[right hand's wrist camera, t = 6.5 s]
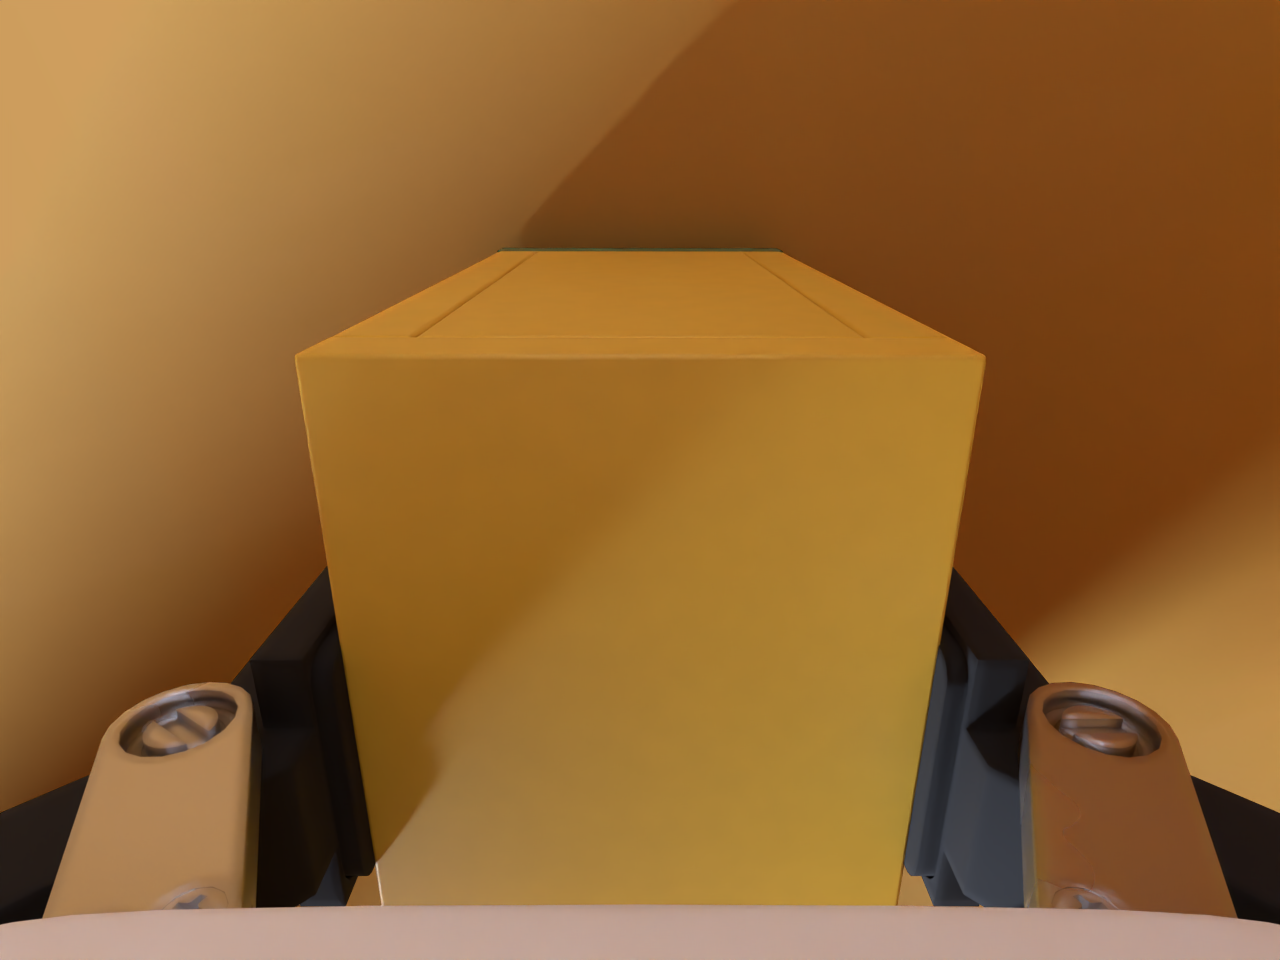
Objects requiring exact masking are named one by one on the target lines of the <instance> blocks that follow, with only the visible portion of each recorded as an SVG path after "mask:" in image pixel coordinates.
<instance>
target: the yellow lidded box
mask: <svg viewBox="0 0 1280 960" xmlns="http://www.w3.org/2000/svg"><path fill="white" fill-rule="evenodd" d="M497 252H498V253H496V254H494V255H492V256H490V257H488V258H486V259H484V260H482V261H480V262H478V263H476V264H474V265H472V266H470V267H468V268H466V269H464V270H462V271H461V272H459V273H457V274H455V275H453V276H451V277H449V278H447V279H445V280H443V281H441V282H439V283H437V284H435V285H433V286H431V287H429V288H427V289H425V290H423V291H421V292H419V293H417V294H415V295H413V296H411V297H409V298H407V299H405V300H403V301H401V302H399V303H398V304H396V305H394V306H392V307H390V308H388V309H386V310H384V311H382V312H380V313H378V314H376V315H374V316H372V317H370V318H368V319H366V320H364V321H362V322H360V323H358V324H356V325H354V326H352V327H350V328H348V329H346V330H344V331H342V332H340V333H338V334H336V335H335V336H333V337H330V338H328V339H325V340H323V341H321V342H319V343H317V344H316V345H314V346H312V347H310V348H308V349H306V350H304V351H302V352H300V353H298V354H296V355H295V366H296V372H297V378H298V384H299V391H300V397H301V403H302V409H303V416H304V422H305V428H306V434H307V441H308V447H309V453H310V460H311V466H312V472H313V478H314V485H315V491H316V497H317V503H318V510H319V516H320V522H321V528H322V535H323V541H324V547H325V553H326V560H327V566H328V572H329V579H330V585H331V591H332V597H333V604H334V610H335V616H336V622H337V629H338V635H339V641H340V646H341V652H342V658H343V664H344V670H345V676H346V683H347V689H348V695H349V701H350V707H351V714H352V720H353V726H354V732H355V739H356V745H357V751H358V757H359V763H360V770H361V776H362V782H363V788H364V794H365V801H366V807H367V813H368V819H369V826H370V832H371V838H372V844H373V850H374V857H375V863H376V864H375V867H376V873H377V879H378V886H379V892H380V898H381V904H382V906H440V905H840V906H897V904H898V898H899V892H900V886H901V880H902V874H903V868H904V859H905V852H906V846H907V840H908V834H909V828H910V821H911V815H912V809H913V803H914V797H915V790H916V784H917V778H918V772H919V766H920V759H921V753H922V747H923V741H924V735H925V728H926V722H927V716H928V710H929V704H930V697H931V691H932V685H933V679H934V673H935V666H936V660H937V654H938V648H939V645H940V641H941V635H942V629H943V623H944V617H945V610H946V604H947V598H948V592H949V586H950V580H951V574H952V568H953V561H954V555H955V549H956V543H957V537H958V531H959V525H960V519H961V512H962V506H963V500H964V494H965V488H966V482H967V476H968V470H969V463H970V457H971V451H972V445H973V439H974V433H975V427H976V421H977V414H978V408H979V402H980V396H981V390H982V384H983V378H984V372H985V365H986V357H985V355H983V354H981V353H979V352H977V351H975V350H973V349H971V348H969V347H967V346H965V345H963V344H961V343H959V342H957V341H955V340H953V339H951V338H949V337H947V336H945V335H943V334H941V333H940V332H938V331H936V330H934V329H932V328H930V327H928V326H926V325H924V324H922V323H920V322H918V321H916V320H914V319H912V318H910V317H908V316H906V315H904V314H902V313H900V312H898V311H896V310H894V309H892V308H890V307H888V306H886V305H884V304H882V303H880V302H878V301H876V300H874V299H872V298H871V297H869V296H867V295H865V294H863V293H861V292H859V291H857V290H855V289H853V288H851V287H849V286H847V285H845V284H843V283H841V282H839V281H837V280H835V279H833V278H831V277H829V276H827V275H825V274H823V273H821V272H819V271H817V270H815V269H813V268H811V267H809V266H807V265H805V264H803V263H802V262H800V261H798V260H796V259H794V258H792V257H790V256H788V255H786V254H784V253H783V251H781V250H779V249H777V248H502V249H500V250H498V251H497Z"/></svg>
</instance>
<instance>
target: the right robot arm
mask: <svg viewBox="0 0 1280 960" xmlns="http://www.w3.org/2000/svg"><path fill="white" fill-rule="evenodd" d="M375 864H376V863H375V857H374V850H373V844H372V838H371V832H370V826H369V819H368V813H367V807H366V801H365V794H364V788H363V782H362V776H361V770H360V763H359V757H358V751H357V745H356V739H355V732H354V726H353V720H352V714H351V707H350V701H349V695H348V689H347V683H346V676H345V670H344V664H343V658H342V652H341V646H340V641H339V635H338V629H337V622H336V616H335V610H334V604H333V597H332V591H331V585H330V579H329V572H328V566H327V567H326V568H325V569H324V570H323V571H322V573H321V574H320V575H319V576H318V578H317V579H316V580H315V581H314V582H313V584H312V585H311V586H310V587H309V588H308V590H307V591H306V592H305V593H304V595H303V596H302V597H301V598H300V599H299V601H298V602H297V603H296V604H295V605H294V607H293V608H292V609H291V610H290V612H289V613H288V614H287V615H286V616H285V618H284V619H283V620H282V621H281V622H280V624H279V625H278V626H277V627H276V629H275V630H274V631H273V632H272V633H271V635H270V636H269V637H268V638H267V639H266V641H265V642H264V643H263V644H262V646H261V647H260V648H259V649H258V650H257V652H256V653H255V654H254V655H253V656H252V658H251V659H250V661H249V662H248V663H247V664H246V665H245V667H244V668H243V669H242V670H241V671H240V673H239V674H238V675H237V676H236V678H235V679H234V680H233V681H232V682H231V684H229V683H217V682H205V683H198V684H190V685H185V686H181V687H178V688H174V689H171V690H167V691H164V692H162V693H159V694H157V695H155V696H152V697H150V698H148V699H145V700H143V701H141V702H140V703H138V704H137V705H135V706H133V707H132V708H130V709H129V710H127V711H125V712H124V713H123V714H122V715H121V716H119V717H118V718H117V719H116V720H115V721H114V722H113V723H112V724H111V725H110V726H109V728H108V729H107V731H106V733H105V734H104V736H103V738H102V740H101V743H100V746H99V749H98V752H97V755H96V758H95V761H94V764H93V767H92V770H91V773H90V775H88V776H86V777H84V778H81V779H79V780H76V781H74V782H72V783H69V784H67V785H65V786H62V787H60V788H58V789H55V790H53V791H51V792H48V793H46V794H44V795H41V796H39V797H37V798H34V799H32V800H30V801H27V802H25V803H22V804H20V805H18V806H15V807H13V808H11V809H8V810H6V811H4V812H1V813H0V960H1280V813H1278V812H1276V811H1274V810H1271V809H1269V808H1266V807H1264V806H1262V805H1259V804H1257V803H1255V802H1252V801H1250V800H1248V799H1245V798H1243V797H1241V796H1238V795H1236V794H1234V793H1231V792H1229V791H1227V790H1224V789H1222V788H1219V787H1217V786H1215V785H1212V784H1210V783H1208V782H1205V781H1203V780H1201V779H1198V778H1196V777H1194V776H1191V775H1190V773H1189V770H1188V767H1187V764H1186V761H1185V758H1184V755H1183V752H1182V749H1181V746H1180V743H1179V740H1178V738H1177V736H1176V734H1175V733H1174V731H1173V729H1172V728H1171V726H1170V725H1169V724H1168V723H1167V722H1166V721H1165V720H1164V719H1163V718H1162V717H1161V716H1159V715H1158V714H1157V713H1156V712H1155V711H1153V710H1151V709H1150V708H1148V707H1147V706H1145V705H1143V704H1142V703H1140V702H1139V701H1137V700H1135V699H1132V698H1130V697H1128V696H1125V695H1123V694H1121V693H1118V692H1116V691H1113V690H1109V689H1106V688H1102V687H1099V686H1095V685H1090V684H1082V683H1075V682H1063V683H1051V684H1049V683H1048V682H1047V681H1046V680H1045V678H1044V677H1043V676H1042V675H1041V673H1040V672H1039V671H1038V670H1037V669H1036V667H1035V666H1034V665H1033V664H1032V663H1031V661H1030V660H1029V658H1028V657H1027V656H1026V655H1025V654H1024V652H1023V651H1022V650H1021V649H1020V648H1019V646H1018V645H1017V644H1016V643H1015V641H1014V640H1013V639H1012V638H1011V637H1010V635H1009V634H1008V633H1007V632H1006V631H1005V629H1004V628H1003V627H1002V626H1001V624H1000V623H999V622H998V621H997V620H996V618H995V617H994V616H993V615H992V614H991V612H990V611H989V610H988V609H987V607H986V606H985V605H984V604H983V603H982V601H981V600H980V599H979V598H978V597H977V595H976V594H975V593H974V592H973V590H972V589H971V588H970V587H969V586H968V584H967V583H966V582H965V581H964V580H963V578H962V577H961V576H960V575H959V573H958V572H957V571H956V570H955V569H954V567H953V568H952V574H951V580H950V586H949V592H948V598H947V604H946V610H945V617H944V623H943V629H942V635H941V641H940V645H939V648H938V654H937V660H936V666H935V673H934V679H933V685H932V691H931V697H930V704H929V710H928V716H927V722H926V728H925V735H924V741H923V747H922V753H921V759H920V766H919V772H918V778H917V784H916V790H915V797H914V803H913V809H912V815H911V821H910V828H909V834H908V840H907V846H906V852H905V859H904V865H905V868H906V870H907V872H908V873H909V874H910V875H911V876H922V878H923V881H924V883H925V886H926V888H927V891H928V893H929V896H930V898H931V901H932V903H933V905H934V906H840V905H440V906H346V904H347V902H348V899H349V897H350V894H351V892H352V889H353V887H354V884H355V882H356V880H357V877H358V876H368V875H370V874H371V872H372V870H373V868H374V866H375ZM299 904H300V906H334V907H296V906H298V905H299ZM979 904H980V905H982V906H983V907H946V906H979Z"/></svg>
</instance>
